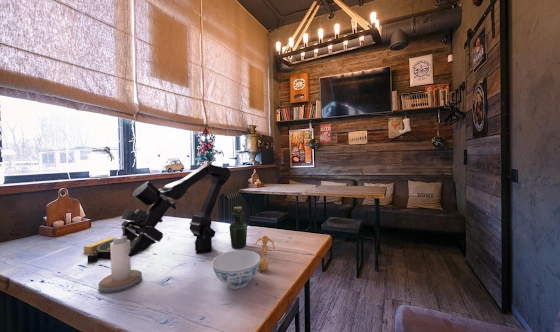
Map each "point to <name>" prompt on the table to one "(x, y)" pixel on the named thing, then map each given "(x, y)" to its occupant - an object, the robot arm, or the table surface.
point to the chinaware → (236, 267)
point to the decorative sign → (103, 249)
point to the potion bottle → (238, 230)
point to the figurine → (263, 262)
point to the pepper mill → (120, 258)
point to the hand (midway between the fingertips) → (123, 253)
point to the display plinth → (119, 283)
